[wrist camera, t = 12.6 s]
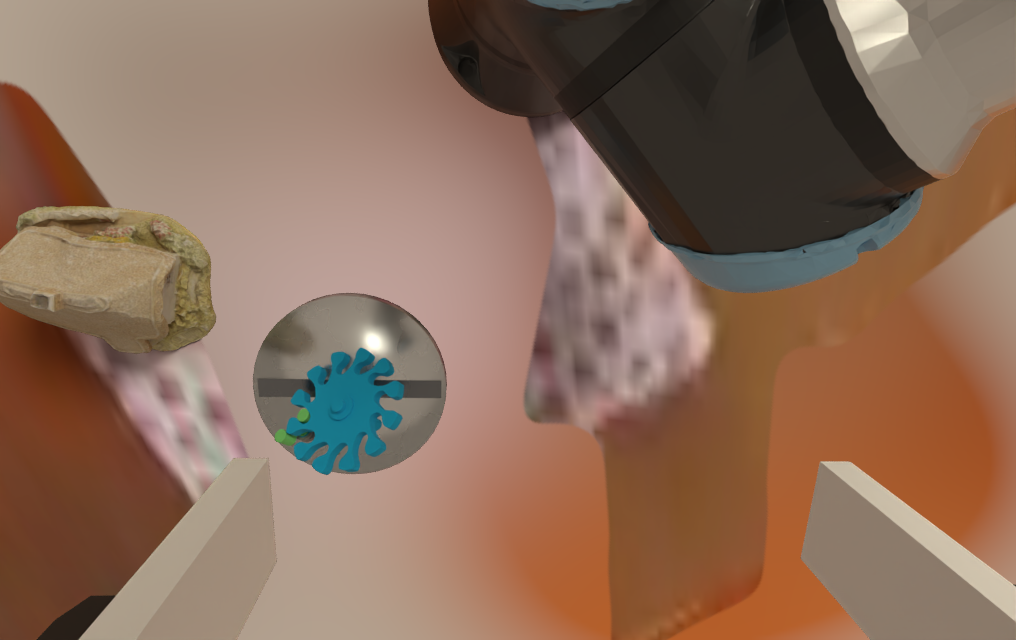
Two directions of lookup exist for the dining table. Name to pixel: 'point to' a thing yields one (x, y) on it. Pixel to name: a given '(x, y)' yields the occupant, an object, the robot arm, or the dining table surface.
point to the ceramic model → (110, 276)
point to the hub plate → (346, 329)
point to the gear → (342, 412)
